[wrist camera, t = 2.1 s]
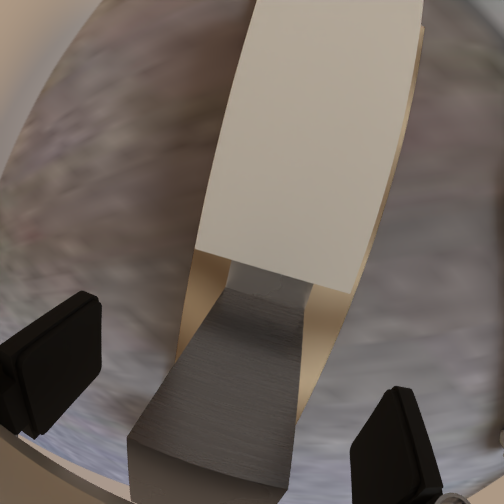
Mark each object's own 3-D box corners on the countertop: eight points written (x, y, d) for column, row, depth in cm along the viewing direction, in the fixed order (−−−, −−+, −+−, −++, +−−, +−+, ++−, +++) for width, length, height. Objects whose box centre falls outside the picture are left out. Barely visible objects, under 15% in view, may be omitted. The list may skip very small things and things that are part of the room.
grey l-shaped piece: (308, 1, 11) (290, -184, 1) (374, 18, 11) (447, -148, 1) (208, 396, 17) (137, 550, 7) (258, 412, 17) (214, 575, 7)
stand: (264, -8, 14) (232, -97, 6) (419, 33, 13) (480, -35, 5) (168, 435, 24) (130, 507, 16) (269, 467, 23) (252, 546, 15)
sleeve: (292, 2, 13) (280, -69, 7) (389, 28, 13) (426, -33, 6) (237, 215, 17) (194, 248, 11) (335, 243, 16) (350, 294, 10)
